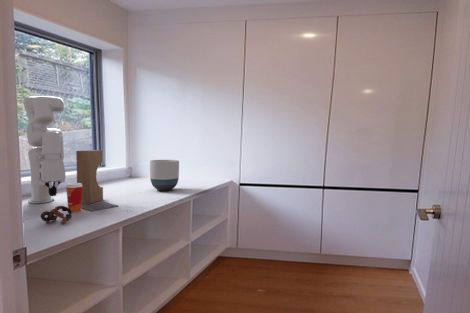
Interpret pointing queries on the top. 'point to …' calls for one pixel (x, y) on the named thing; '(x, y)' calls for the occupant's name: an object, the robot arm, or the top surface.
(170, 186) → the planter
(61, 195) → the top surface
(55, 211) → the brown looped knot sculpture
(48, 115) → the robot arm
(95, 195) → the decorative block
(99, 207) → the mat
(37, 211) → the top surface
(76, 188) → the paper cup
